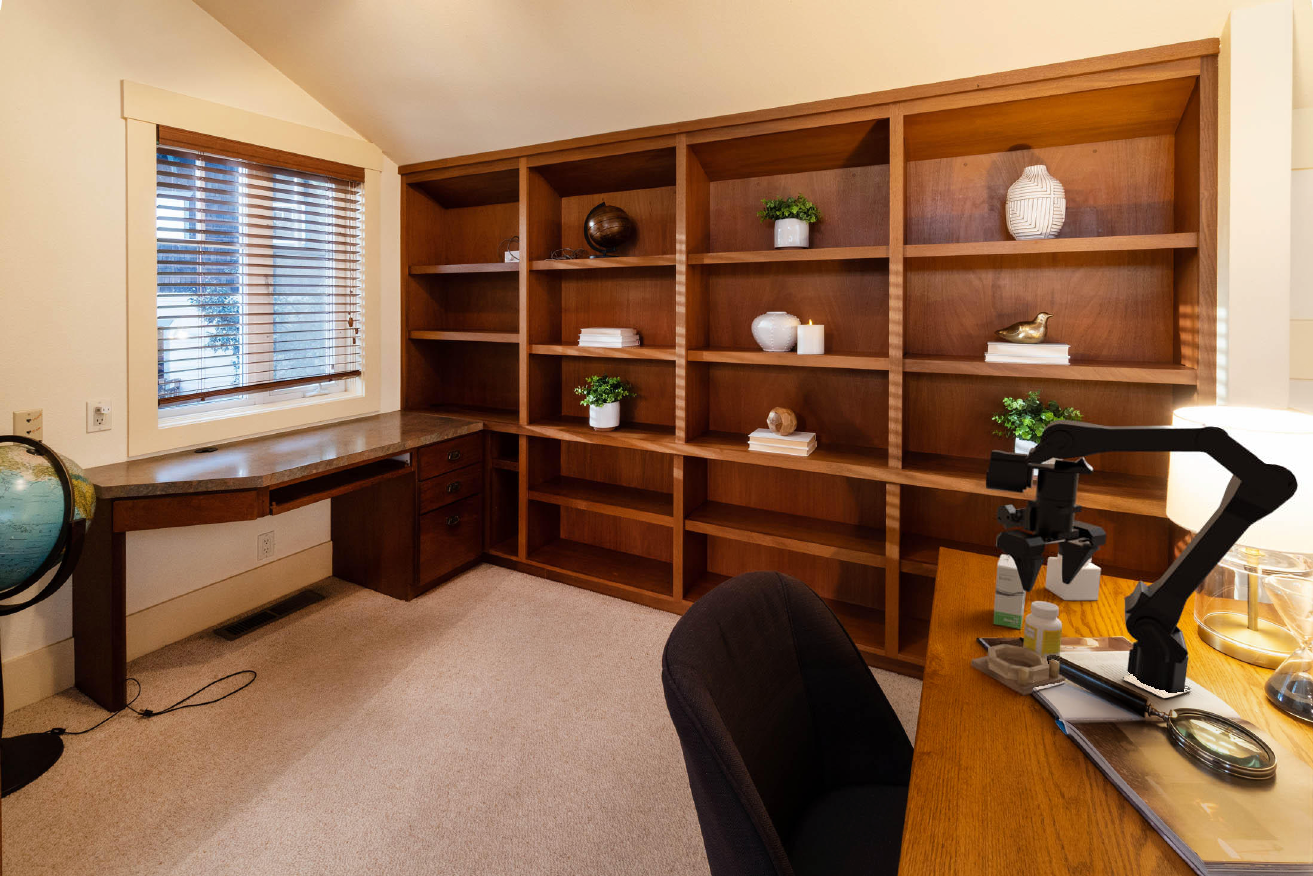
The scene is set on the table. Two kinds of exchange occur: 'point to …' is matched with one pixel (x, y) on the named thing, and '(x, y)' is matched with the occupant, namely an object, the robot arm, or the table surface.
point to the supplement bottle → (1043, 629)
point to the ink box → (1008, 594)
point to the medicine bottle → (1081, 585)
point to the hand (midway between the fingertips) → (1046, 587)
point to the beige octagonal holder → (1019, 667)
